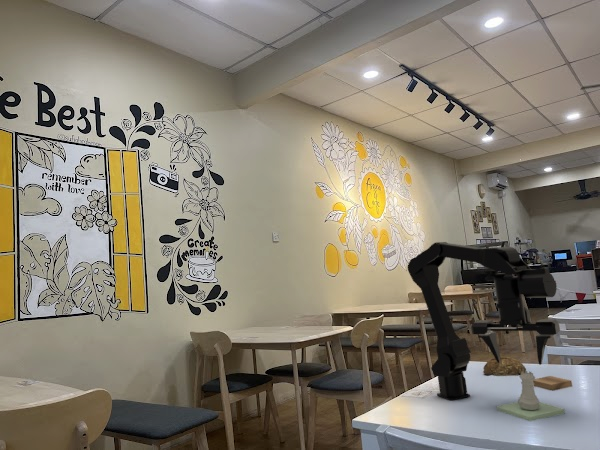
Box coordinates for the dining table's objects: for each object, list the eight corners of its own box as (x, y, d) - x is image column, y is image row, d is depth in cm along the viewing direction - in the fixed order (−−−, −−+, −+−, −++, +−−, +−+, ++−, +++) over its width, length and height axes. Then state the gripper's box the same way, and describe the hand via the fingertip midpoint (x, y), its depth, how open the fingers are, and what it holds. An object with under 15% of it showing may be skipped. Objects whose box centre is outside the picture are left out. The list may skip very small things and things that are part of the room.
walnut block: (552, 392, 118) (551, 384, 118) (532, 387, 124) (530, 379, 125) (572, 387, 120) (571, 380, 120) (551, 383, 126) (550, 375, 127)
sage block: (530, 426, 96) (529, 417, 97) (498, 415, 106) (496, 406, 106) (565, 418, 99) (564, 408, 100) (530, 407, 109) (529, 399, 109)
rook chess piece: (544, 408, 101) (542, 374, 100) (528, 412, 100) (526, 378, 99) (529, 400, 105) (527, 367, 105) (514, 404, 104) (511, 371, 103)
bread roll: (520, 367, 147) (518, 352, 148) (530, 376, 135) (527, 359, 136) (480, 369, 150) (478, 354, 151) (486, 378, 138) (483, 361, 139)
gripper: (558, 293, 108) (569, 358, 106) (480, 296, 120) (488, 355, 118) (549, 297, 99) (561, 368, 98) (466, 301, 111) (475, 364, 109)
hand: (519, 363), depth 106 cm, fingers open, 9 cm apart
